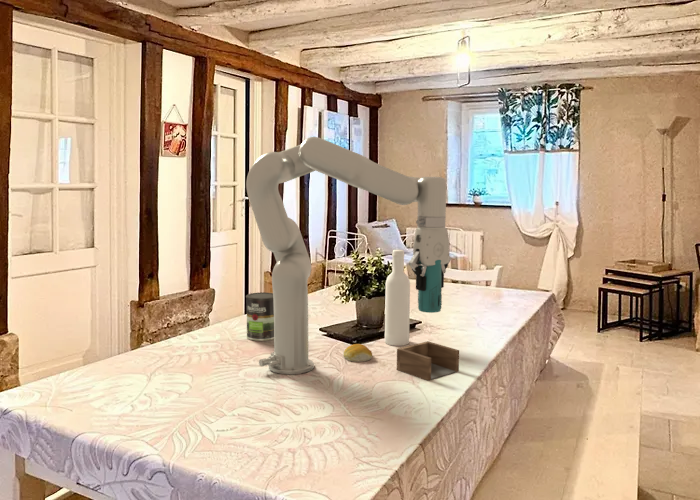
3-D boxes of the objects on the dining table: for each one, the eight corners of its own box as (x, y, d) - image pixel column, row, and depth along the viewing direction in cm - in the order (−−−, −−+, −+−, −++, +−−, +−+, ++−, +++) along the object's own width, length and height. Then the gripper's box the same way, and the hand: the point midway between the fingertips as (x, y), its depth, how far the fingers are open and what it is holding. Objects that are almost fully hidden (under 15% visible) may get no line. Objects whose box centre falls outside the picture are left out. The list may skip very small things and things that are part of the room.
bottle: (380, 343, 201) (381, 250, 197) (390, 338, 207) (391, 248, 204) (403, 347, 197) (405, 252, 193) (413, 341, 204) (414, 249, 200)
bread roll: (366, 352, 192) (367, 340, 191) (374, 361, 183) (374, 348, 182) (340, 354, 190) (340, 341, 189) (347, 363, 181) (347, 350, 181)
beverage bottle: (440, 318, 168) (442, 244, 166) (415, 317, 170) (417, 244, 167) (442, 313, 175) (443, 241, 172) (418, 312, 176) (419, 241, 173)
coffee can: (269, 342, 202) (269, 299, 200) (240, 339, 205) (240, 297, 203) (283, 334, 211) (282, 293, 210) (255, 331, 215) (255, 291, 213)
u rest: (427, 380, 166) (428, 358, 165) (396, 369, 175) (397, 348, 174) (458, 371, 174) (459, 350, 173) (427, 361, 183) (427, 341, 182)
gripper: (418, 225, 160) (417, 294, 163) (463, 222, 171) (461, 287, 174) (398, 223, 166) (397, 290, 168) (442, 220, 177) (440, 283, 179)
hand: (429, 288), depth 171 cm, fingers closed on beverage bottle, 6 cm apart
